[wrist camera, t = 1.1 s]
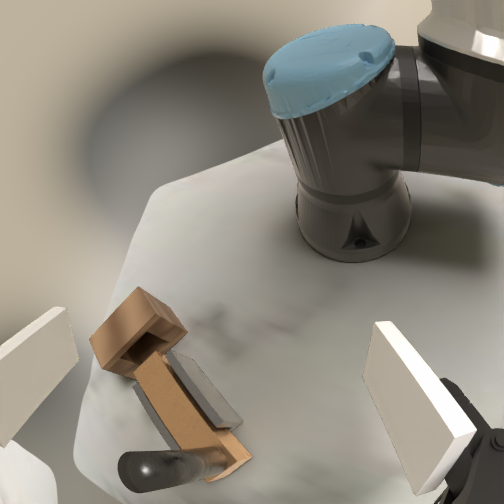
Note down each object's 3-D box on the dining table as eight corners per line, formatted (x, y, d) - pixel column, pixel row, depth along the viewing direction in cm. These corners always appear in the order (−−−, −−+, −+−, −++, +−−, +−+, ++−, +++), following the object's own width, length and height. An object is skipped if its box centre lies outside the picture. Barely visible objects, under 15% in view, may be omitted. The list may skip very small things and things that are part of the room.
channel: (193, 359, 35) (170, 350, 31) (243, 421, 29) (223, 421, 25) (157, 392, 34) (132, 386, 30) (201, 455, 28) (177, 458, 24)
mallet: (175, 358, 34) (81, 316, 22) (252, 456, 25) (165, 478, 13) (153, 378, 33) (57, 344, 21) (225, 476, 25) (129, 502, 13)
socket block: (169, 307, 40) (138, 286, 34) (187, 332, 37) (155, 313, 31) (123, 353, 39) (88, 339, 33) (138, 380, 36) (101, 368, 30)
